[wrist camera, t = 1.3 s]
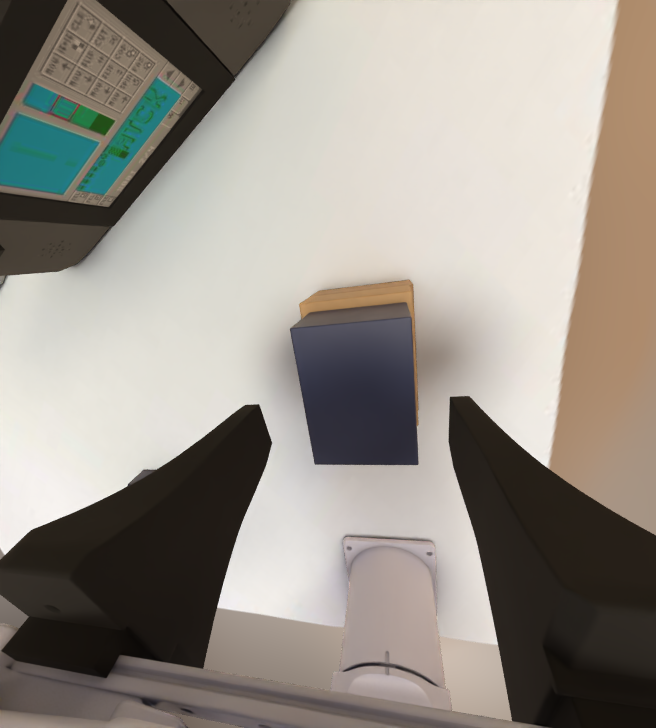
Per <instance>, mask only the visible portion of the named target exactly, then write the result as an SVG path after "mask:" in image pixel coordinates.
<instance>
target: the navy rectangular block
mask: <svg viewBox="0 0 656 728" xmlns="http://www.w3.org/2000/svg"><path fill="white" fill-rule="evenodd" d="M290 331H291V337H292V342H293V348H294V353H295V359H296V364H297V370H298V375H299V381H300V386H301V392H302V397H303V402H304V408H305V413H306V419H307V424H308V430H309V435H310V441H311V446H312V452H313V457H314V463H315V464H321V465H418V464H419V463H418V442H417V421H416V399H415V378H414V356H413V335H412V317H411V314H410V311H409V308H408V305H407V302H401V303H392V304H383V305H373V306H364V307H354V308H345V309H335V310H326V311H317V312H309V313H308V314H307V315H306V316H305V317H303V318H302V319H301V320H300V321H299V322H298V323H296V324H295V325H294V326H293V327H292V328H290Z"/></svg>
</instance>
